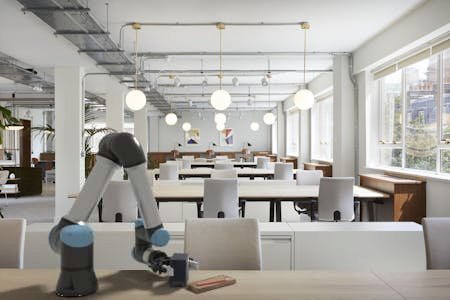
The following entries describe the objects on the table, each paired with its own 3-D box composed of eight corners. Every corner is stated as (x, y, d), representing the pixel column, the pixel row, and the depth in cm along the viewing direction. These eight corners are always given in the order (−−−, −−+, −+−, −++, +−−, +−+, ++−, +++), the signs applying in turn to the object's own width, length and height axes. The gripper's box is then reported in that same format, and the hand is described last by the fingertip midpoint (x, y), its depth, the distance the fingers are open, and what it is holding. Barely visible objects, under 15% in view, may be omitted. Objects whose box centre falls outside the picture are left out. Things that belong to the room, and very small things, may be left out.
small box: (186, 287, 166) (186, 259, 166) (169, 287, 166) (169, 259, 166) (189, 278, 177) (189, 252, 177) (173, 278, 177) (173, 252, 177)
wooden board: (186, 287, 166) (186, 283, 166) (222, 278, 177) (222, 274, 177) (198, 292, 160) (198, 288, 160) (236, 282, 171) (236, 278, 171)
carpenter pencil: (198, 286, 162) (198, 284, 162) (196, 285, 163) (196, 283, 163) (229, 280, 169) (229, 278, 169) (228, 279, 170) (228, 277, 170)
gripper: (178, 262, 193) (209, 273, 176) (130, 272, 178) (159, 285, 161) (178, 245, 193) (209, 254, 176) (130, 254, 178) (159, 265, 161)
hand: (185, 269), depth 169 cm, fingers closed on small box, 11 cm apart
